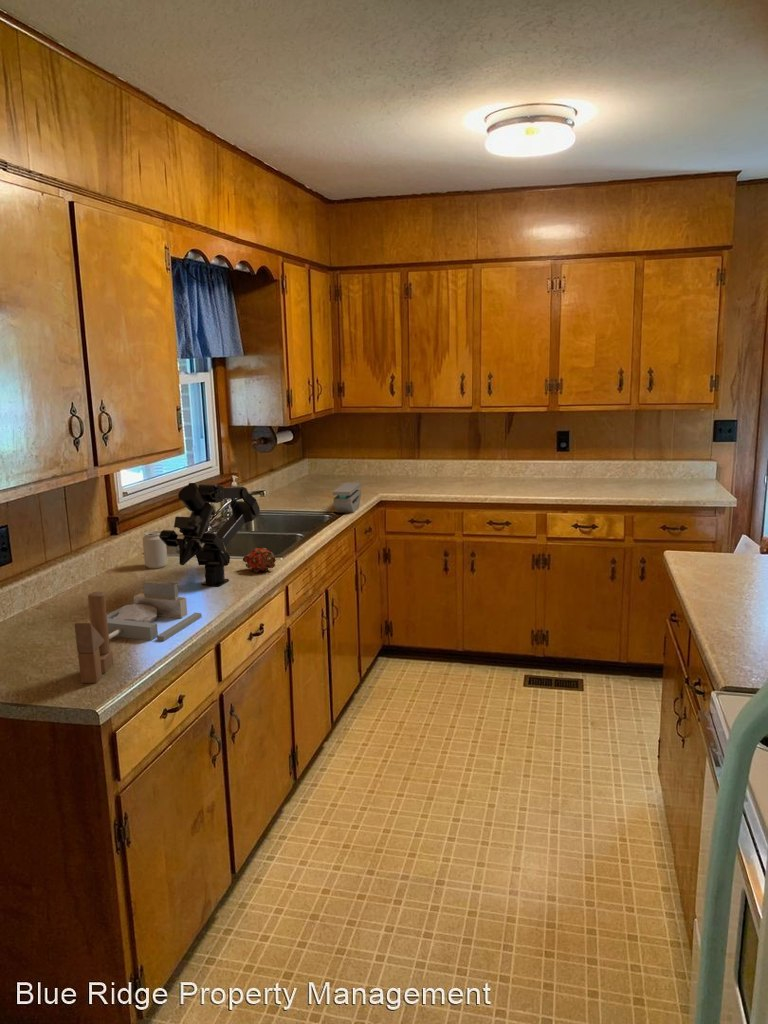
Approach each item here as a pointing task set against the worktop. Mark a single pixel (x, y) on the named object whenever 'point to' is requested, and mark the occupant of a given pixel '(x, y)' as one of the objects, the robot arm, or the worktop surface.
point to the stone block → (138, 613)
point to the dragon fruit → (260, 560)
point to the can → (154, 550)
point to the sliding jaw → (163, 599)
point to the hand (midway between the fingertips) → (181, 564)
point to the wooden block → (94, 641)
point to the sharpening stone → (347, 497)
